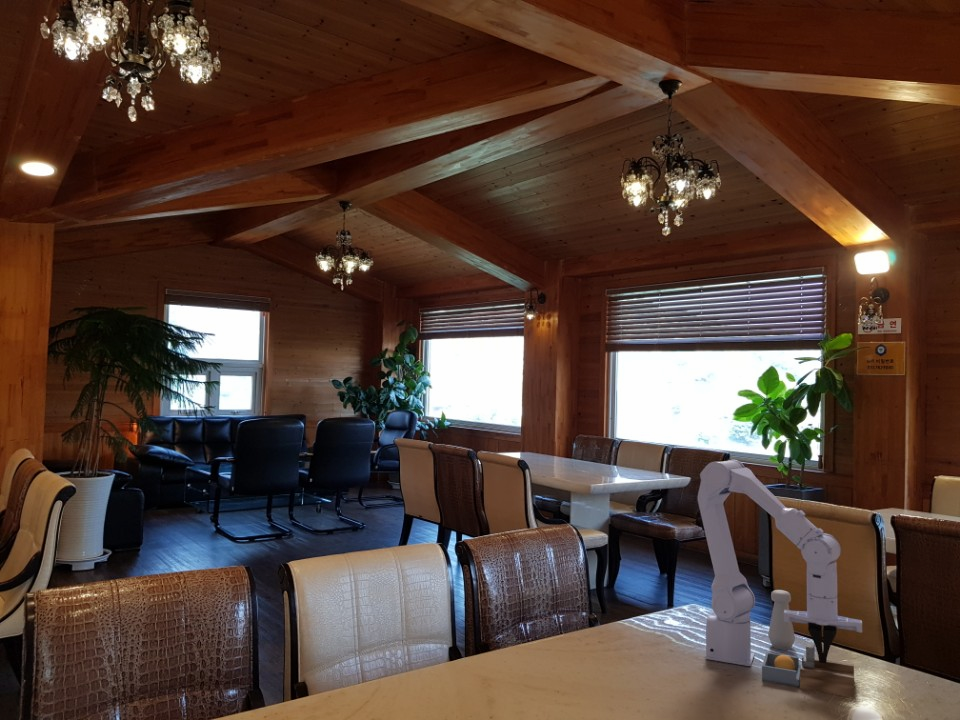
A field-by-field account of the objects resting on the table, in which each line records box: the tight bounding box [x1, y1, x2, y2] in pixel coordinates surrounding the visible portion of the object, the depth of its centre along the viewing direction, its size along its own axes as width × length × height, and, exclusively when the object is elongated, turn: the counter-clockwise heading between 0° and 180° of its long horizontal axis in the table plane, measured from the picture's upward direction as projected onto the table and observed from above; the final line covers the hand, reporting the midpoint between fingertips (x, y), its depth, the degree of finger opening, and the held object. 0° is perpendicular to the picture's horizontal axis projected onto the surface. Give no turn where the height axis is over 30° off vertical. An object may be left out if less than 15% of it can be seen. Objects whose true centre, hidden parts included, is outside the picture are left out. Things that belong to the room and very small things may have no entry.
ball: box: [774, 654, 795, 670], centre depth 151 cm, size 4×4×4 cm
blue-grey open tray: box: [761, 652, 802, 688], centre depth 151 cm, size 7×9×3 cm
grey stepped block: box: [803, 640, 816, 670], centre depth 149 cm, size 2×5×5 cm, turn 153°
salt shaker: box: [767, 589, 796, 651], centre depth 169 cm, size 6×6×13 cm
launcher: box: [799, 655, 856, 699], centre depth 147 cm, size 10×10×4 cm
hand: (822, 661), depth 148 cm, fingers closed
